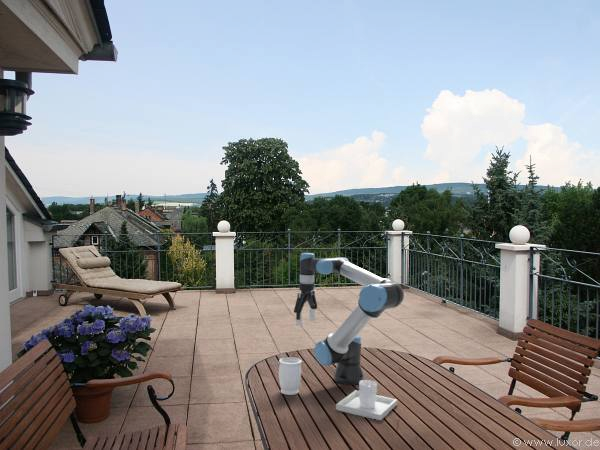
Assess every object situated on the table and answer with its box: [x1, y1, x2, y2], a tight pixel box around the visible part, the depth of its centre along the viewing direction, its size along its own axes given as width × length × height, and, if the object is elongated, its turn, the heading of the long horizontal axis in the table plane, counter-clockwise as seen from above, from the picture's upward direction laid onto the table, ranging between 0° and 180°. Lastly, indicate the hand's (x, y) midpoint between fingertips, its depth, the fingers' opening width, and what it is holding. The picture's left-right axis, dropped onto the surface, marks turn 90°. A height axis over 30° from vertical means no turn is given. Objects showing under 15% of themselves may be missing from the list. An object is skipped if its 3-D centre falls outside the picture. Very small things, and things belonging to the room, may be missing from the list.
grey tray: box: [335, 389, 398, 422], centre depth 205 cm, size 20×20×2 cm
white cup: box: [358, 379, 378, 409], centre depth 205 cm, size 8×8×10 cm
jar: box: [278, 356, 302, 396], centre depth 221 cm, size 11×10×15 cm
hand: (305, 323), depth 246 cm, fingers open, 13 cm apart
